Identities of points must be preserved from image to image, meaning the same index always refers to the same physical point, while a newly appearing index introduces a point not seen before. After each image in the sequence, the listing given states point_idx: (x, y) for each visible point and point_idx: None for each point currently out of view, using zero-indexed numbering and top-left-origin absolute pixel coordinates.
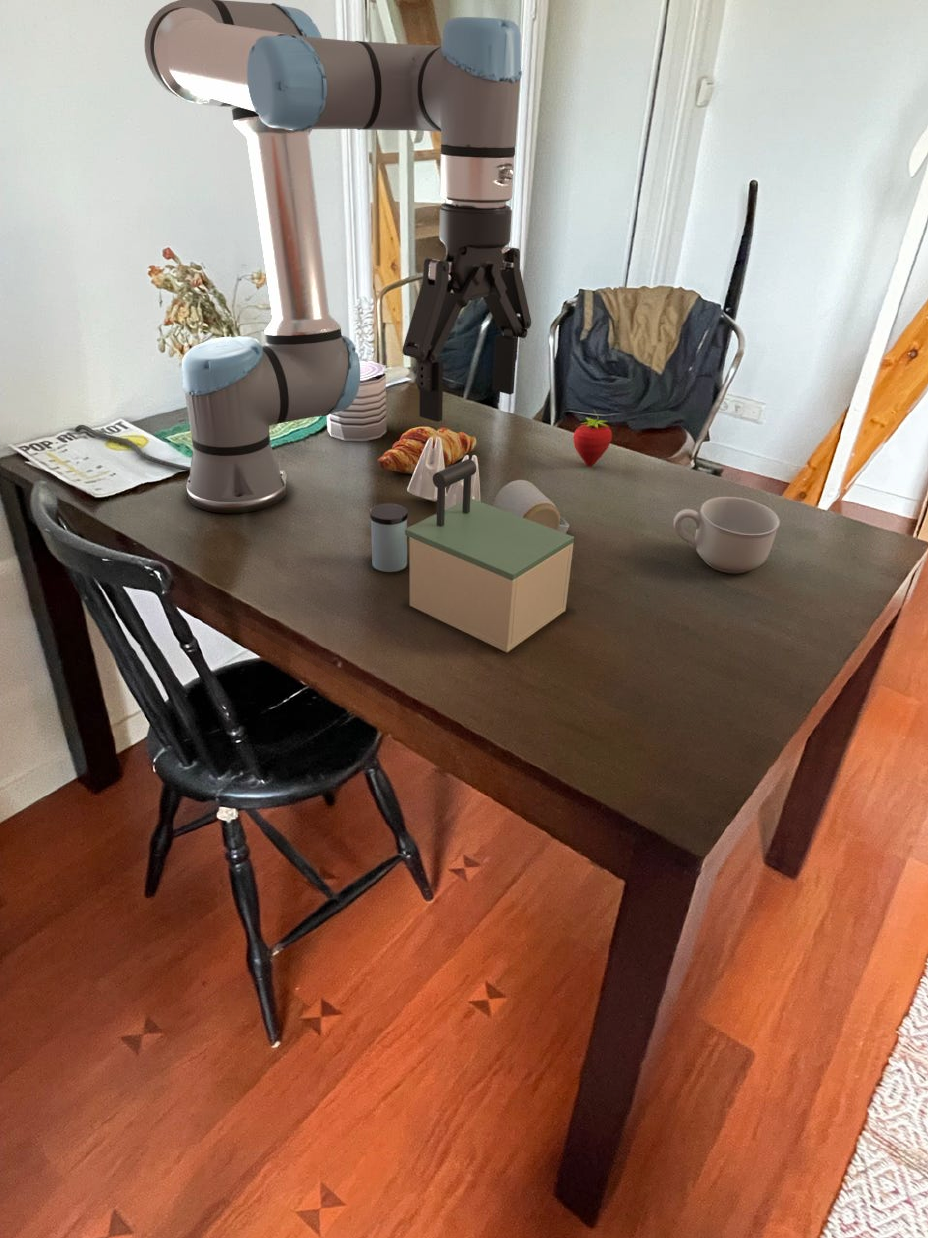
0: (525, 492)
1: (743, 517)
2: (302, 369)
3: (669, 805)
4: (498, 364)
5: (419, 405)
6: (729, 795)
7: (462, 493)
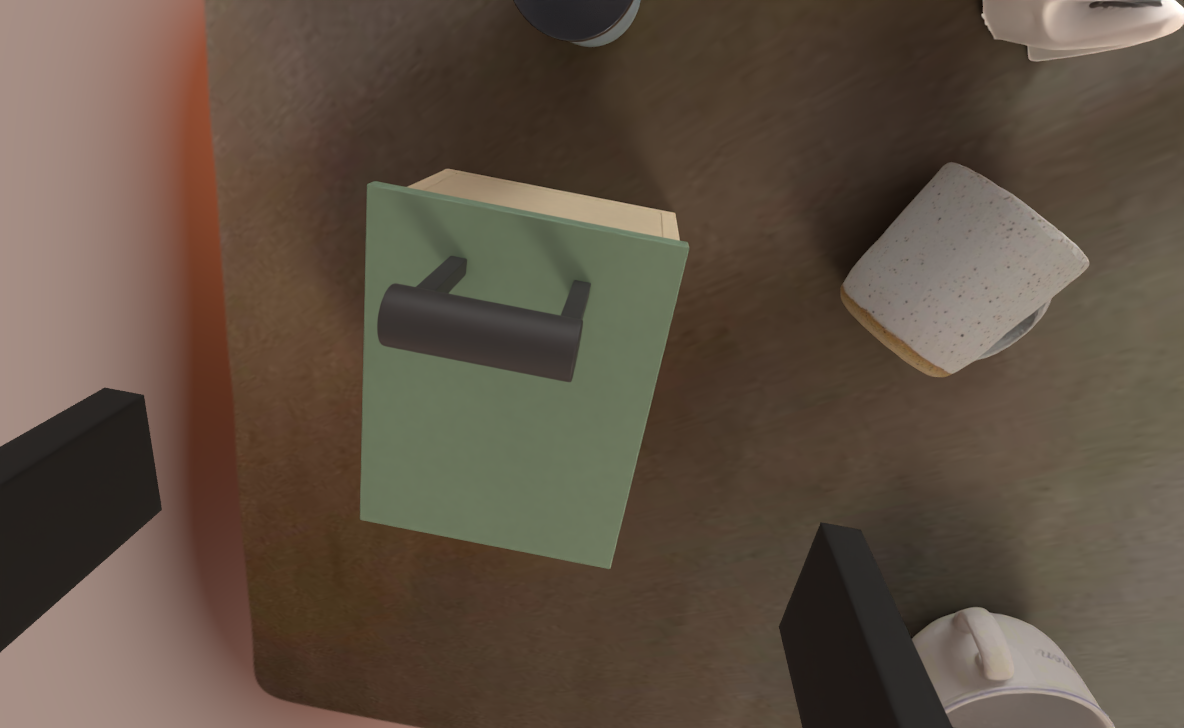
0: (971, 291)
1: (1079, 717)
2: None
3: (294, 664)
4: (860, 705)
5: (45, 421)
6: (353, 706)
7: (1028, 10)
